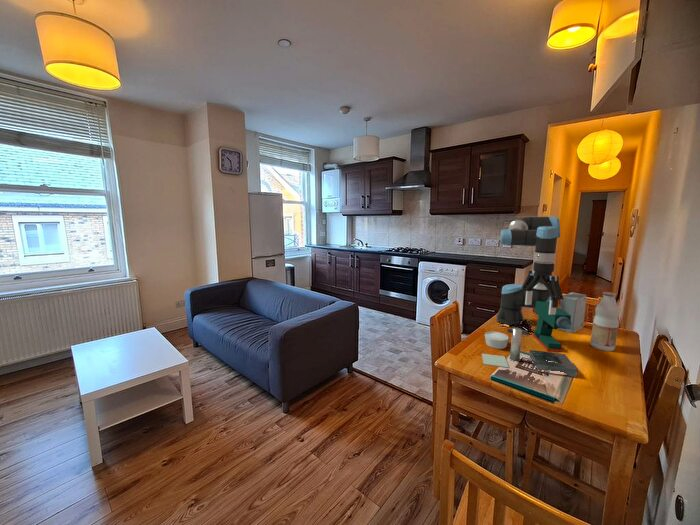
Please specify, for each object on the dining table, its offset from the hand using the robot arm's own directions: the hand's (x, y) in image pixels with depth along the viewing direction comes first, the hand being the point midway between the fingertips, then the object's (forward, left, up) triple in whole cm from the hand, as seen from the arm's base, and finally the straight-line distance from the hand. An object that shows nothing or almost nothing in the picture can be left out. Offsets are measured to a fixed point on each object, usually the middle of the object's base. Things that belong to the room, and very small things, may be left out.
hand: (539, 309), depth 129 cm
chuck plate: (+3, +6, -25) cm, 26 cm away
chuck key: (+1, -8, -25) cm, 26 cm away
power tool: (-16, +12, -25) cm, 32 cm away
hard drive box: (-49, +30, -25) cm, 62 cm away
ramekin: (-13, -14, -25) cm, 32 cm away
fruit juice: (-26, +36, -25) cm, 51 cm away
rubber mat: (+5, -17, -25) cm, 31 cm away
